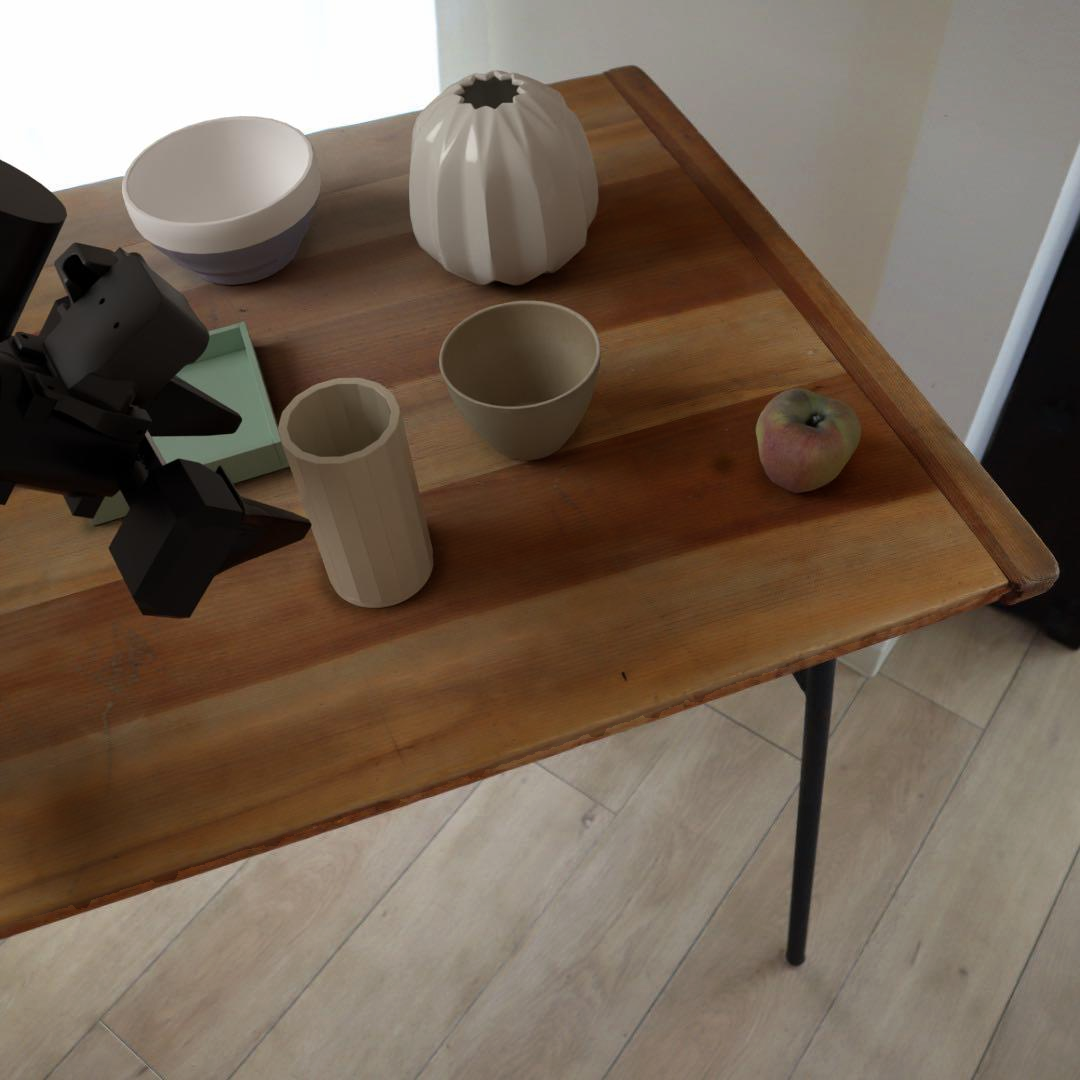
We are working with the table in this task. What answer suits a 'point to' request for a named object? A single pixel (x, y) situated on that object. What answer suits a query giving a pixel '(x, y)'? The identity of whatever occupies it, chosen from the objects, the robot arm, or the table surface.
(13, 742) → the table surface
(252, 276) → the bowl
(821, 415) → the apple
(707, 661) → the table surface
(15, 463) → the robot arm
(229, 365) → the serving tray
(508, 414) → the flower pot
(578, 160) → the vase
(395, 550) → the rice cup
